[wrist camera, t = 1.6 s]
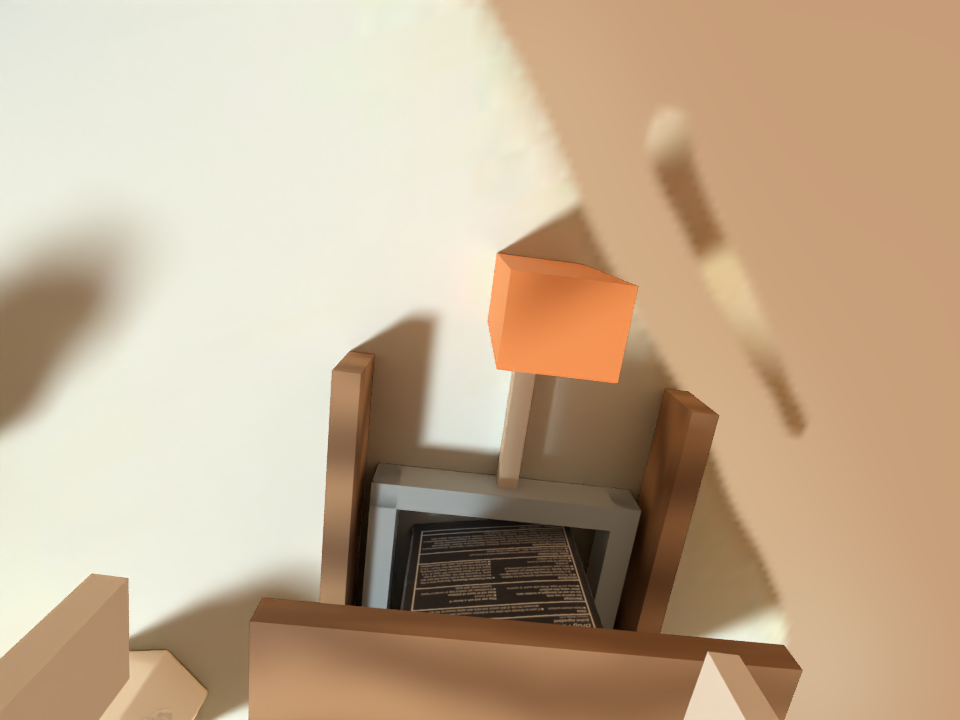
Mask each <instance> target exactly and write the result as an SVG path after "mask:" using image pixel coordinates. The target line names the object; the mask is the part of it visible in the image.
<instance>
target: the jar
mask: <svg viewBox="0 0 960 720" xmlns="http://www.w3.org/2000/svg"><path fill="white" fill-rule="evenodd" d="M129 675H130V679H129V680H128V681H127V683H126V684H125V685H124V687H123V688H122V689H121V691H120V692H119V693H118V695H117V696H116V697H115V699H114V700H113V702H112V703H111V704H110V706H109V707H108V708H107V710H106V711H105V712H104V714H103V715H102V716H101V718H100V719H99V720H195V718H196V716H197V714H198V712H199V710H200V708H201V706H202V704H203V702H204V700H205V698H206V696H207V690H206V689H205V688H204V687H203V686H202V685H201V684H200V683H199V682H198V681H197V680H196V679H195V678H194V677H193V676H192V675H191V674H190V673H189V672H188V671H187V670H186V669H185V668H184V667H183V666H182V665H181V664H180V662H179V661H178V660H177V659H176V658H175V657H174V656H173V655H172V654H171V653H170V652H169V651H167V650H151V651H129Z"/></svg>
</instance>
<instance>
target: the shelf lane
mask: <svg viewBox="0 0 960 720" xmlns="http://www.w3.org/2000/svg"><path fill="white" fill-rule="evenodd" d="M373 367H374V354H367V353H359V352H350V351H349V352H348V353H347V355H346V356H345V357H344V358H343V359H342V360H341V361H340V362H339V363H338V365H337V366H336V367H335V368H334V369H333V370H332V380H331V398H330V417H329V435H328V454H327V472H326V491H325V509H324V527H323V546H322V564H321V583H320V601H319V603H316V602H305V601H295V600H284V599H273V598H262V600H261V601H260V603H259V605H258V607H257V609H256V611H255V612H254V614H253V616H252V618H251V620H250V633H249V720H684V717H685V714H686V711H687V708H688V706H689V703H690V700H691V697H692V694H693V692H694V689H695V686H696V683H697V680H698V677H699V675H700V672H701V669H702V666H703V663H704V661H705V658H706V655H707V652H716V653H724V654H732V655H739V656H740V658H741V659H742V661H743V663H744V664H745V666H746V667H747V669H748V671H749V672H750V674H751V675H752V677H753V679H754V680H755V682H756V684H757V685H758V687H759V688H760V690H761V692H762V693H763V695H764V696H765V698H766V700H767V701H768V703H769V704H770V706H771V708H772V709H773V711H774V713H775V714H776V716H777V717H778V719H779V720H784V719H785V716H786V713H787V711H788V708H789V706H790V703H791V700H792V697H793V695H794V692H795V690H796V687H797V684H798V681H799V678H800V676H801V673H802V669H801V667H800V666H799V665H798V664H797V662H796V661H795V659H794V658H793V657H792V655H791V654H790V653H789V651H788V650H787V648H786V647H785V646H784V645H778V644H767V643H756V642H745V641H734V640H723V639H712V638H701V637H690V636H679V635H668V634H660V631H661V627H662V624H663V620H664V616H665V613H666V609H667V605H668V602H669V598H670V594H671V591H672V587H673V583H674V580H675V576H676V572H677V569H678V565H679V561H680V558H681V554H682V550H683V547H684V543H685V539H686V535H687V532H688V528H689V524H690V521H691V517H692V513H693V510H694V506H695V502H696V499H697V495H698V491H699V488H700V484H701V480H702V477H703V473H704V469H705V466H706V462H707V458H708V455H709V451H710V447H711V444H712V440H713V436H714V433H715V429H716V425H717V421H718V418H719V415H718V414H716V413H715V412H714V411H713V410H711V409H710V408H709V407H708V406H706V405H705V404H704V403H702V402H701V401H700V400H699V399H697V398H696V397H695V396H694V395H692V394H691V393H690V392H688V391H680V390H671V389H665V391H664V396H663V400H662V404H661V408H660V412H659V417H658V421H657V425H656V429H655V433H654V438H653V442H652V446H651V450H650V454H649V458H648V463H647V467H646V471H645V475H644V479H643V484H642V488H641V492H640V496H639V500H638V506H639V508H640V509H641V514H640V519H639V523H638V527H637V531H636V535H635V539H634V543H633V548H632V552H631V556H630V560H629V564H628V568H627V572H626V577H625V581H624V585H623V589H622V593H621V597H620V601H619V606H618V610H617V614H616V618H615V622H614V626H613V629H602V628H591V627H580V626H569V625H558V624H547V623H536V622H525V621H514V620H503V619H492V618H481V617H470V616H459V615H448V614H437V613H426V612H415V611H404V610H393V609H382V608H371V607H360V606H355V601H356V588H357V575H358V562H359V549H360V536H361V523H362V510H363V497H364V484H365V471H366V458H367V445H368V432H369V419H370V406H371V393H372V380H373Z"/></svg>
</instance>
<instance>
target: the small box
mask: <svg viewBox="0 0 960 720" xmlns="http://www.w3.org/2000/svg"><path fill="white" fill-rule="evenodd" d="M410 534H411V544H410V551H409V558H408V563H407V569H406V574H405V581H404V588H403V595H402V602H401V608H400V610H404V611H415V612H426V613H437V614H448V615H459V616H470V617H481V618H492V619H503V620H514V621H525V622H536V623H547V624H558V625H569V626H580V627H591V628H602V629H605V628H604V627H603V625H602V622H601V619H600V615H599V613H598V611H597V608H596V605H595V601H594V598H593V596H592V592H591V589H590V586H589V583H588V579H587V577H586V574H585V571H584V568H583V565H582V562H581V559H580V556H579V553H578V551H577V547H576V543H575V541H574V538H573V536H572V533H571V529H570V527H566V526H557V525H547V524H537V523H527V522H517V521H507V520H487V521H467V522H448V523H433V524H415V525H414V526H413V528H412V529H411V532H410Z"/></svg>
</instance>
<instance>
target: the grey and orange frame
mask: <svg viewBox="0 0 960 720" xmlns="http://www.w3.org/2000/svg"><path fill="white" fill-rule="evenodd" d="M637 290H638V286H636V285H634V284H631V283H629V282H626V281H624V280H621V279H619V278H616V277H613V276H611V275H608V274H606V273H603V272H601V271H598V270H596V269H593V268H591V267H588V266H585V265H583V264H576V263H568V262H561V261H553V260H545V259H538V258H530V257H522V256H515V255H507V254H500V253H497V257H496V264H495V272H494V279H493V286H492V294H491V301H490V309H489V316H488V325H489V331H490V336H491V341H492V347H493V352H494V357H495V363H496V368H497V369H499V370H507V371H512V377H511V383H510V390H509V396H508V403H507V409H506V416H505V422H504V429H503V436H502V442H501V449H500V455H499V462H498V468H497V475H496V476H495V475H486V474H476V473H467V472H458V471H448V470H439V469H430V468H420V467H411V466H401V465H392V464H383V463H379V464H378V467H377V469H376V472H375V475H374V477H373V480H372V483H371V495H370V508H369V520H368V533H367V545H366V557H365V570H364V582H363V594H362V607H371V608H382V609H390V600H391V590H392V580H393V570H394V560H395V550H396V540H397V529H398V519H399V509H400V510H409V511H419V512H429V513H439V514H449V515H458V516H468V517H478V518H488V519H498V520H507V521H517V522H527V523H537V524H547V525H557V526H566V527H576V528H586V529H596V531H595V536H594V541H593V545H592V550H591V554H590V559H589V564H588V568H587V573H586V577H587V579H588V583H589V586H590V589H591V592H592V596H593V598H594V601H595V605H596V608H597V611H598V613H599V615H600V619H601V622H602V625H603V627H604V628H605V629H613V626H614V622H615V618H616V614H617V610H618V606H619V601H620V597H621V593H622V589H623V585H624V581H625V577H626V572H627V568H628V564H629V560H630V556H631V552H632V548H633V543H634V539H635V535H636V531H637V527H638V523H639V519H640V514H641V509H640V508H639V506H638V504H637V503H636V501H635V499H634V498H633V496H632V494H631V493H630V491H629V490H626V489H617V488H608V487H598V486H589V485H580V484H570V483H561V482H551V481H542V480H533V479H523V478H519V473H520V467H521V461H522V455H523V449H524V443H525V437H526V431H527V425H528V419H529V413H530V407H531V401H532V395H533V389H534V383H535V377H536V374H541V375H550V376H558V377H566V378H575V379H583V380H592V381H600V382H609V383H617V384H618V380H619V375H620V371H621V366H622V361H623V356H624V352H625V347H626V342H627V338H628V333H629V328H630V323H631V319H632V314H633V309H634V304H635V300H636V295H637ZM393 610H396V609H393Z"/></svg>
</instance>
